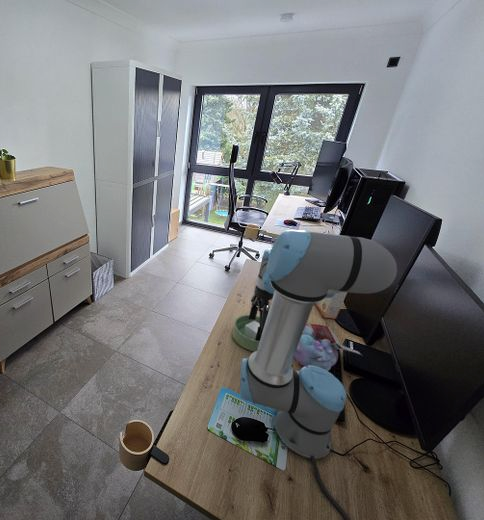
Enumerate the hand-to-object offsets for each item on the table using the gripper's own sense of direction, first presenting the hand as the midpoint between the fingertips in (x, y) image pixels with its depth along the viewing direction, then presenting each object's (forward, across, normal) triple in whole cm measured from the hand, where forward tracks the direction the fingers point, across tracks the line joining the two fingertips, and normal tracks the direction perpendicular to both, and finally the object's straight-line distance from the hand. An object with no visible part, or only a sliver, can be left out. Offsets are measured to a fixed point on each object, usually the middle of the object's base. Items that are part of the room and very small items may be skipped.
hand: (255, 329), depth 122 cm
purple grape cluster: (+5, -7, -22) cm, 24 cm away
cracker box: (+5, +27, -40) cm, 49 cm away
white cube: (+5, 0, 0) cm, 5 cm away
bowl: (+5, 0, 0) cm, 5 cm away
